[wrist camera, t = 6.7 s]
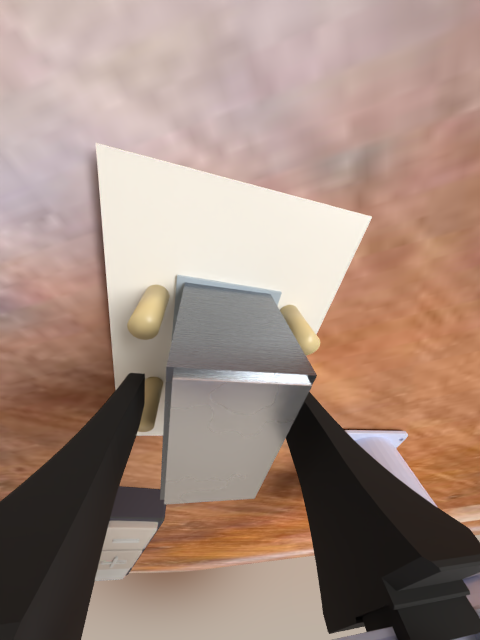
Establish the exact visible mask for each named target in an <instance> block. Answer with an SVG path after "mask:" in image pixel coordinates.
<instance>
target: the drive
mask: <svg viewBox="0 0 480 640" xmlns="http://www.w3.org/2000/svg"><path fill="white" fill-rule="evenodd" d="M316 376H317V375H316V373H315V371H314V370H313V368H312V366H311V364H310V363H309V361H308V359H307V357H306V356H305V354H304V352H303V350H302V349H301V347H300V345H299V343H298V341H297V340H296V338H295V336H294V334H293V333H292V331H291V329H290V327H289V326H288V324H287V322H286V320H285V319H284V317H283V315H282V313H281V312H280V310H279V308H278V306H277V305H276V303H275V301H274V299H273V297H272V296H271V294H267V293H260V292H252V291H245V290H238V289H230V288H223V287H216V286H209V285H201V284H194V283H187V282H185V284H184V289H183V293H182V298H181V303H180V307H179V312H178V316H177V321H176V325H175V330H174V334H173V339H172V343H171V348H170V352H169V357H168V361H167V366H166V385H165V406H164V428H163V449H162V471H161V493H160V500H164V504H179V503H194V502H209V501H225V500H240V499H255V497H256V495H257V493H258V491H259V489H260V487H261V485H262V483H263V481H264V479H265V477H266V475H267V473H268V471H269V469H270V467H271V465H272V463H273V461H274V459H275V457H276V456H277V454H278V452H279V450H280V448H281V446H282V444H283V442H284V440H285V438H286V436H287V434H288V432H289V430H290V428H291V426H292V424H293V422H294V420H295V418H296V416H297V414H298V412H299V410H300V408H301V406H302V405H303V403H304V401H305V399H306V397H307V395H308V393H309V391H310V389H311V387H312V384H313V382H314V380H315V378H316Z"/></svg>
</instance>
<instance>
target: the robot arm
mask: <svg viewBox="0 0 480 640" xmlns="http://www.w3.org/2000/svg"><path fill="white" fill-rule="evenodd" d="M144 404H145V374H142V373H129V374H128V375H127V376H126V378H125V379H124V380H123V382H122V383H121V384H120V386H119V387H118V388H117V390H116V391H115V392H114V393H113V394H112V396H111V397H110V398H109V399H108V400H107V402H106V403H105V404H104V405H103V406H102V407H101V408H100V410H99V411H98V412H97V413H96V414H95V415H94V416H93V417H92V418H91V419H90V421H89V422H88V423H87V424H86V425H85V426H84V427H83V428H82V429H81V430H80V431H79V432H78V433H77V434H76V435H75V436H74V437H73V438H72V439H71V440H70V441H69V442H68V443H67V444H66V445H65V446H64V447H63V448H62V449H61V450H60V451H58V452H57V453H56V454H55V455H54V456H53V457H52V458H51V459H50V460H49V461H48V462H47V463H45V464H44V465H43V466H42V467H41V468H40V469H39V470H37V471H36V472H35V473H34V474H33V475H32V476H30V477H29V478H28V479H27V480H26V481H25V482H24V483H22V484H21V485H20V486H19V487H18V488H16V489H15V490H14V491H13V492H12V493H10V494H9V495H8V496H7V497H5V498H4V499H3V500H2V501H0V640H81V637H82V633H83V628H84V624H85V620H86V615H87V611H88V606H89V602H90V598H91V594H92V590H93V586H94V581H95V577H96V573H97V569H98V565H99V561H100V557H101V553H102V549H103V545H104V541H105V537H106V533H107V529H108V525H109V521H110V517H111V513H112V509H113V505H114V501H115V498H116V494H117V491H118V487H119V484H120V481H121V478H122V475H123V472H124V469H125V467H126V464H127V461H128V458H129V455H130V452H131V449H132V446H133V443H134V441H135V438H136V435H137V432H138V429H139V426H140V421H141V417H142V413H143V409H144ZM407 437H408V434H407V433H406V431H381V430H344V429H343V428H342V427H341V426H340V425H339V424H338V423H337V422H336V421H335V420H334V419H333V418H332V417H331V416H330V414H329V413H328V412H327V411H326V410H325V409H324V408H323V407H322V406H321V404H320V403H319V402H318V401H317V400H316V399H315V398H314V397H313V395H312V394H311V393H310V392H309V393H308V395H307V397H306V399H305V401H304V403H303V405H302V406H301V408H300V410H299V412H298V414H297V416H296V418H295V420H294V422H293V424H292V426H291V428H290V430H289V432H288V434H287V436H286V440H287V443H288V446H289V449H290V452H291V455H292V459H293V462H294V465H295V468H296V471H297V474H298V478H299V481H300V485H301V489H302V493H303V498H304V502H305V507H306V512H307V516H308V521H309V526H310V531H311V537H312V542H313V548H314V554H315V560H316V566H317V572H318V579H319V586H320V593H321V600H322V608H323V615H324V618H325V622H326V626H327V629H328V632H329V634H331V633H335V632H339V631H345V630H350V629H354V628H359V627H364V626H365V628H366V631H367V632H365V633H361V634H356V635H351V636H347V637H342V638H338V639H333V640H480V542H479V541H478V540H477V538H476V537H475V535H474V534H473V533H472V531H471V530H470V529H469V528H467V527H466V526H464V525H463V524H461V523H460V522H458V521H457V520H455V519H454V518H452V517H451V516H449V515H448V514H446V513H445V512H443V511H442V510H440V509H439V508H438V507H437V506H436V504H435V503H434V501H433V500H432V499H431V497H430V496H429V494H428V493H427V492H426V490H425V489H424V487H423V486H422V485H421V483H420V482H419V480H418V479H417V478H416V476H415V475H414V473H413V472H412V470H411V469H410V468H409V466H408V465H407V463H406V462H405V461H404V459H403V458H402V456H401V455H400V454H399V452H398V451H397V449H396V448H397V447H398V446H399V445H400V444H401V443H402V442H403V441H404V440H405V439H406V438H407Z"/></svg>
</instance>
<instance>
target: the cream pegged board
mask: <svg viewBox="0 0 480 640" xmlns="http://www.w3.org/2000/svg"><path fill="white" fill-rule="evenodd" d="M96 155H97V167H98V179H99V192H100V204H101V217H102V229H103V242H104V254H105V266H106V279H107V291H108V304H109V316H110V329H111V341H112V354H113V366H114V378H115V391H116V390H117V388H118V387H119V386H120V384H121V383H122V382H123V380H124V379H125V378H126V376H127V375H128V374H129V373H142V374H145V404H144V409H143V413H142V417H141V421H140V426H139V429H138V432H137V435H136V436H163V428H164V406H165V385H166V366H167V361H168V357H169V352H170V348H171V343H172V339H173V334H174V330H175V325H176V321H177V316H178V312H179V307H180V303H181V298H182V293H183V289H184V284H185V282H187V283H194V284H201V285H209V286H216V287H223V288H230V289H238V290H245V291H252V292H260V293H267V294H271V296H272V297H273V299H274V301H275V303H276V305H277V306H278V308H279V310H280V312H281V313H282V315H283V317H284V319H285V320H286V322H287V324H288V326H289V327H290V329H291V331H292V333H293V334H294V336H295V338H296V340H297V341H298V343H299V345H300V347H301V349H302V350H303V352H304V354H305V356H306V355H309V354H312V353H314V352H315V351H316V350H317V349H318V348H319V346H320V340H319V338H318V337H317V335H316V334H317V332H318V330H319V328H320V326H321V324H322V321H323V319H324V317H325V315H326V313H327V311H328V309H329V307H330V305H331V303H332V300H333V298H334V296H335V294H336V292H337V290H338V288H339V286H340V284H341V281H342V279H343V277H344V275H345V273H346V271H347V269H348V267H349V265H350V262H351V260H352V258H353V256H354V254H355V252H356V250H357V248H358V246H359V244H360V241H361V239H362V237H363V235H364V233H365V231H366V229H367V227H368V225H369V222H370V220H371V218H372V217H371V216H367V215H364V214H360V213H356V212H352V211H349V210H345V209H341V208H337V207H334V206H330V205H326V204H323V203H319V202H315V201H311V200H308V199H304V198H300V197H296V196H293V195H289V194H285V193H281V192H278V191H274V190H270V189H267V188H263V187H259V186H255V185H252V184H248V183H244V182H240V181H237V180H233V179H229V178H225V177H222V176H218V175H214V174H211V173H207V172H203V171H199V170H196V169H192V168H188V167H184V166H181V165H177V164H173V163H169V162H166V161H162V160H158V159H154V158H151V157H147V156H143V155H140V154H136V153H132V152H128V151H125V150H121V149H117V148H113V147H110V146H106V145H102V144H98V143H96Z"/></svg>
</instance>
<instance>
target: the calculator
mask: <svg viewBox="0 0 480 640" xmlns="http://www.w3.org/2000/svg"><path fill="white" fill-rule="evenodd" d="M160 493H161V489H148V488H135V487H122V486H119V487H118V491H117V494H116V498H115V501H114V505H113V509H112V513H111V517H110V521H109V525H108V529H107V533H106V537H105V541H104V545H103V549H102V553H101V557H100V561H99V565H98V569H97V573H96V577H95V581H102V580H119V579H123V578H124V577H125V576H126V575H128V573H129V572H130V570H131V569H132V567H133V566H134V564H135V563H136V561H137V560H138V558H139V557H140V556H141V554H142V553H143V551H144V550H145V548H146V547H147V545H148V544H149V542H150V541H151V539H152V538H153V536H154V535H155V533H156V532H157V530H158V529H159V527H160V526H161V524H162V523H163V521H164V518H165V510H166V504H164V500H160Z"/></svg>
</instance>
